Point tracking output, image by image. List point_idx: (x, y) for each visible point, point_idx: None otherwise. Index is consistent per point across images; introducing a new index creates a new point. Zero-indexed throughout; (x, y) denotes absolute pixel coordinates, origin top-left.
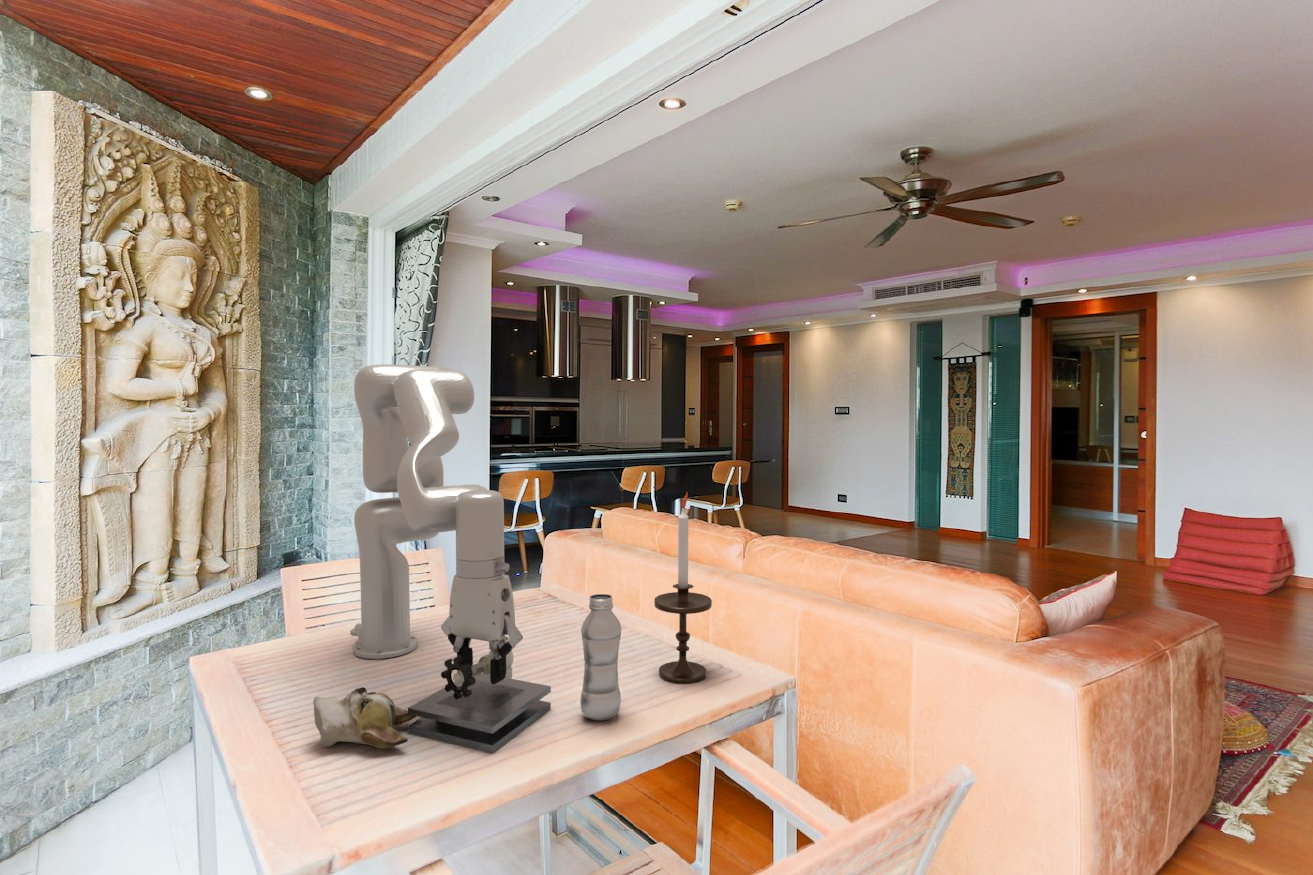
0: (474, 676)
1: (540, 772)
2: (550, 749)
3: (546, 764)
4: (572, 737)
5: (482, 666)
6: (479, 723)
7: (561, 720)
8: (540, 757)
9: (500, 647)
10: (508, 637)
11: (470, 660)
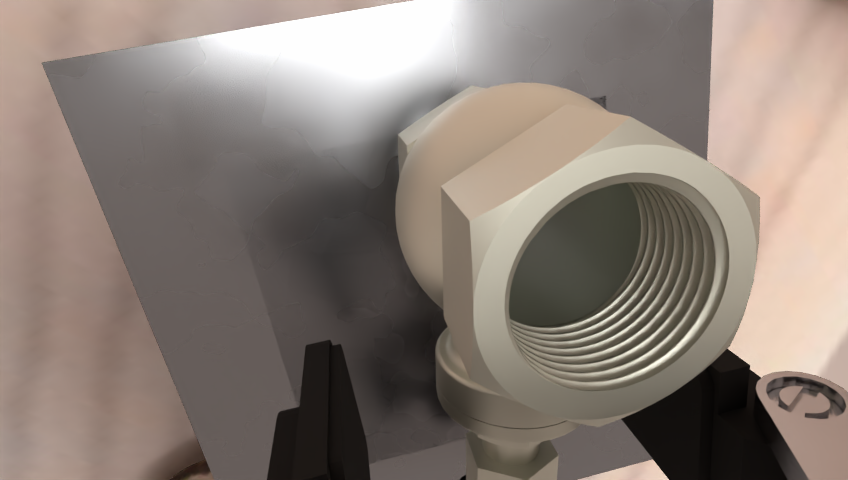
0: (146, 126)
1: (820, 362)
2: (791, 253)
3: (818, 324)
4: (829, 140)
5: (556, 455)
6: (633, 461)
7: (728, 43)
8: (783, 307)
9: (785, 467)
10: (687, 181)
11: (346, 420)
